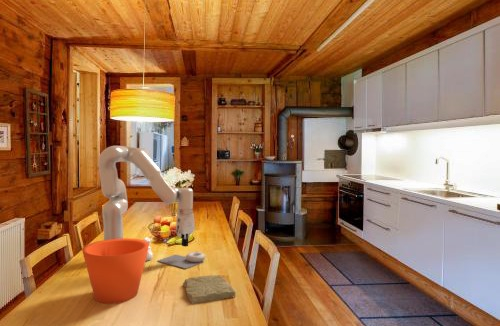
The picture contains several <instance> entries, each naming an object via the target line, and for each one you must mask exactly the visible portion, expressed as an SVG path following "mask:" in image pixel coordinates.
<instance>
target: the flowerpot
mask: <svg viewBox="0 0 500 326" xmlns="http://www.w3.org/2000/svg"><path fill="white" fill-rule="evenodd" d="M149 246H150V244H149V243H148V242H146V241H144V240H143V239H139V238H128V237H127V238H126V237H125V238H124V237H123V238H121V239H109V240H104V239H103V240H98V241H94V242H91V243H89V244H87V245H85V246H83V247H82V249H81V251H82V254H83V258H84V262H85V265H86V266H85V267H86V271H87V274H88V277H89V282H90V284H91V289H92V292H93V296H94V297H93V298H94V300H95V302H97V303H100V304H107V305H109V304H114V305H115V304H119V303H124V302H128V301H131V300H132V299H134V298H135V297H136V296H138V293H139V292H138V291H139V289H140V285H141V280H142V275H143V271H144V268H145V263H146V261H145V260H146V255H147V251H148V247H149Z"/></svg>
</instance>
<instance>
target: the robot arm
mask: <svg viewBox="0 0 500 326" xmlns="http://www.w3.org/2000/svg"><path fill="white" fill-rule="evenodd" d="M150 154H151V153H150V151H148V150H147V149H145V148H140V147H132V146H125V145H111V146H108V147H106V148H104V150H103V151H102V152H101V153H100V155H99V156H98V164H97V165H98V171H99V180H100V181H99V182H100V186H101V193H102V195H103V196H104V198H108V199H109V200H108V201H107V202H106V203H105V204H104V205H103V207H102V212H101V214H102V215H101V216H102V222H103V223H102V224H103V240H109V239H121V238H124V222H123V215H124V214H125V213H127V212H128V211H127V210H128V209H129V208H128V207H129V204H128V203H129V202H128V195H127V187H126V184H125V183H124V181H123V180H122V179H121V178H119V177H118V176H119V175H118V169H117V165H116V163H120V162H122V163H131V164H133V165H134V166H135V167H136V168H137V170H138V171H139V172H140V173H141V174H142V176H143V177H144V178H145V179H146V181H147V182H148V184H149V185H150V187H151V188H152V190H153V191H154V192H155V194H156V195H157V197H159V199H160V200H162V202H164V203H165V204H173V203H175V202H176V201H177V202H178V206H177V207H178V210H177V216H176V224H175V230H176V231H175V232H176V237H178V238H179V237H180V239H181V247H189V239H190V235H192V234H193V233H194V232H195V230H196V221H195V214H194V213H193V212H194V210H193V209H194V207H193V206H194V205H193V204H194V190H193V189H192V188H191V187H177V186H176V187H175V186H174V187H173V186H170V185H169V184H168V182H167V181H166V180H165V179H164V176H163V173H162V170H161V168H160V167H159V166H158V165H157V164H156V162H155V161H154V160H153V159H152V157H151V155H150Z"/></svg>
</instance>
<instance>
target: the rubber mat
mask: <svg viewBox="0 0 500 326" xmlns="http://www.w3.org/2000/svg"><path fill="white" fill-rule="evenodd" d="M157 263H161V264H164V265H169V266H172V267H176V268H178V269H179V268H180V269H183V270H188V269H191V268H193V267H195V266H198V265H200V263H201V264H203V263H204V260H203V261H201V262H189V261H187V259H186V256H184V255H180V254H172V255H170V256H167V257H164V258H160V259H158V260H157Z"/></svg>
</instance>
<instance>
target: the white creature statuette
mask: <svg viewBox="0 0 500 326" xmlns="http://www.w3.org/2000/svg"><path fill="white" fill-rule="evenodd" d="M142 240H144V241H146V242H148V243H149V247H148V251H147V255H146V260H145V262H149V261H151V260H152V259H153V258H154V256H153V255H154V253H153V251H152V248H151V246H150V244H151V242H152V241H153V238H152V237H151V238H149V237H147V236H146V237H143V238H142Z"/></svg>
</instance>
